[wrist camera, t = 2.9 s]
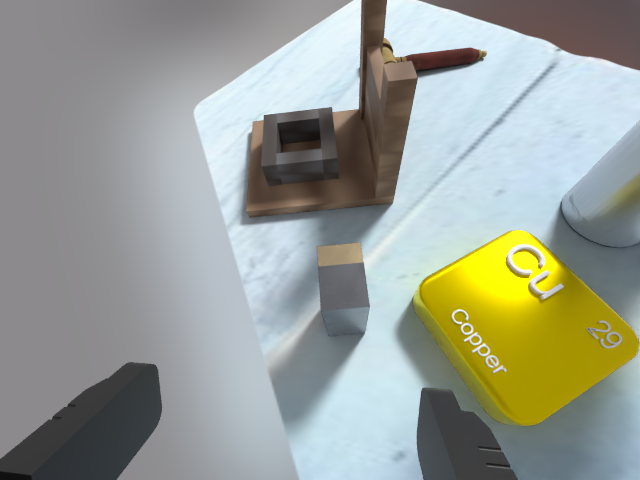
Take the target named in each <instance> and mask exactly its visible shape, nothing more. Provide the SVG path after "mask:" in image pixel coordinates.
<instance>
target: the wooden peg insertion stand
mask: <svg viewBox="0 0 640 480" xmlns="http://www.w3.org/2000/svg"><path fill="white" fill-rule="evenodd" d="M386 5H387V0H362V6H361V48H360V90H359V109H357V110H348V111H340V112H332V107H329V108H321V109H312V110H304V111H295V112H287V113H278V114H270V115H264V120H262V121H254V122H253V128H252V141H251V153H250V166H249V179H248V192H247V205H246V212H247V214H248V216H249V217H258V216H268V215H278V214H288V213H298V212H308V211H318V210H328V209H338V208H348V207H358V206H368V205H378V204H388V203H393V200H394V195H395V190H396V185H397V180H398V175H399V170H400V165H401V160H402V155H403V150H404V145H405V140H406V135H407V130H408V125H409V120H410V115H411V109H412V104H413V99H414V94H415V89H416V84H417V79H418V77H417V74H416V71H415V69H414V66H413V63H412V61H406V62H398V63H390V64H384V61H383V58H382V51H383V40H384V28H385V16H386Z"/></svg>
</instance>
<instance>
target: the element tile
mask: <svg viewBox="0 0 640 480" xmlns="http://www.w3.org/2000/svg"><path fill="white" fill-rule="evenodd" d="M413 306H414V309H415V311H416V313H417V315H418V316H419V318H420V319H421V320H422V322H423V323H424V325H425V326H426V327H427V329H428V330H429V332H430V333H431V335H432V336H433V337H434V339H435V340H436V342H437V343H438V345H439V346H440V347H441V349H442V350H443V352H444V353H445V355H446V356H447V357H448V359H449V360H450V362H451V363H452V364H453V366H454V367H455V369H456V370H457V372H458V373H459V374H460V376H461V377H462V379H463V380H464V382H465V383H466V384H467V386H468V387H469V389H470V390H471V391H472V393H473V394H474V396H475V397H476V399H477V400H478V401H479V403H480V404H481V406H482V407H483V409H484V410H485V411H486V412H487V413H488V414H489V415H490V416H491V417H492V418H493V419H495V420H496V421H497V422H500V423H503V424H508V425H518V426H532V425H536V424H538V423H541V422H542V421H543V420H545V419H546V418H548V417H549V416H551V415H552V414H553V413H555V412H556V411H558V410H559V409H561V408H562V407H564V406H565V405H566V404H568V403H569V402H571V401H572V400H574V399H575V398H576V397H578V396H579V395H581V394H582V393H584V392H585V391H587V390H588V389H589V388H591V387H592V386H594V385H595V384H597V383H598V382H599V381H601V380H602V379H604V378H605V377H607V376H608V375H610V374H611V373H612V372H614V371H615V370H617V369H618V368H620V367H621V366H622V365H624V364H625V363H627V362H628V361H630V360H631V359H633V358H634V357H635V356H636V355H637V353H638V350H639V347H640V345H639V339H638V337H637V335H636V334H635V332H634V330H633V329H632V328H631V327H630V326H629V324H627V323H626V322H625V321H624V320H623V319H622V318H621V317H620V316H619V315H618V314H617V313H616V312H615V311H614V310H613V309H612V308H610V307H609V306H608V305H607V304H606V303H605V302H604V301H603V300H602V299H601V298H600V297H599V296H598V295H597V294H596V293H595V292H593V291H592V290H591V289H590V288H589V287H588V286H587V285H586V284H585V283H584V282H583V281H582V280H581V279H580V278H579V277H578V276H576V275H575V274H574V273H573V272H572V271H571V270H570V269H569V268H568V267H567V266H566V265H565V264H564V263H563V262H562V261H561V260H559V259H558V258H557V257H556V256H555V255H554V254H553V253H552V252H551V251H550V250H549V249H548V248H547V247H546V246H545V245H544V244H542V243H541V242H540V241H539V240H538V239H537V238H536V237H534V236H533V235H532V234H530V233H528V232H526V231H521V230H514V231H509V232H507V233H505V234H503V235H501V236H499V237H498V238H496V239H494V240H492V241H490V242H489V243H487V244H485V245H483V246H481V247H480V248H478V249H476V250H474V251H472V252H471V253H469V254H467V255H465V256H464V257H462V258H460V259H458V260H456V261H455V262H453V263H451V264H449V265H447V266H446V267H444V268H442V269H440V270H438V271H437V272H435V273H433V274H431V275H429V276H428V277H426V278H425V279H424V280H423V281H422V282H421V284H420V285H419V287H418V289H417V291H416V293H415V295H414V297H413Z"/></svg>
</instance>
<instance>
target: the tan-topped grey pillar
mask: <svg viewBox="0 0 640 480" xmlns="http://www.w3.org/2000/svg"><path fill="white" fill-rule="evenodd" d="M317 252H318V269H319V285H320V302H321V312H322V316H323V319H324V322H325V325H326V328H327V332H328V335H329V336H338V335H351V334H363V333H365V331H366V325H367V320H368V314H369V308H370V305H369V298H368V291H367V284H366V276H365V269H364V262H363V255H362V248H361V243H351V244H340V245H329V246H319V247H317Z"/></svg>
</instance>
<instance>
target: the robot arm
mask: <svg viewBox="0 0 640 480" xmlns="http://www.w3.org/2000/svg"><path fill="white" fill-rule="evenodd" d="M562 212H563V214H564V217H565V219H566V220H567V222H568V223H569V225H570V226H571V227H572V228H573V229H574V230H575V231H577V232H578V233H579V234H581V235H582V236H583V237H585V238H587V239H589V240H591V241H593V242H596V243H598V244H601V245H605V246H610V247H629V246H632V245H635V244H637V243H639V242H640V120H639V121H638V122H637V123H636V124H635V125H634V126H633V127H632V128H631V129H630V130H629V131H628V132H627V133H626V134H625V135H624V136H623V137H622V138H621V139H620V140H619V141H618V142H617V143H616V144H615V145H614V146H613V147H612V148H611V149H610V150H609V151H608V152H607V153H606V154H605V155H604V156H603V157H602V158H601V159H600V160H599V161H598V162H597V163H596V164H595V165H594V166H593V167H592V168H591V169H590V170H589V171H588V172H587V173H586V174H585V175H584V176H583V178H582V179H581V180H580V181H579V182H578V183H577V184H576V185H575V186H574V187H573V188H572V189H571V190H570V191H569V192H568V193H567V194H566V195H565V196H564V198H563V200H562ZM158 376H159V375H158V369H157V367H156V365H154V364H145V363H133V362H129V363H127V364H125V365H124V366H122V367H121V368H120V369H119V370H118V371H116V372H115V373H114V374H113V375H112V376H110V377H109V378H108V379H105V380H103V381H101V382H99V383H97V384H96V385H94V386H92V387H90V388H88V389H86V390H85V391H83V392H82V393H81V394H80V395H79V396H77V397H76V398H75V399H74V400H72V401H71V402H70V403H69V404H68V406H67V407H64V408H63V409H62V410H60V411H59V412H58V413H56V414H55V415H54V416H53V418H52V420H48V421H47V422H45V423H44V424H43V425H42V426H40V427H39V428H38V429H37V430H36V431H34V432H33V433H32V434H31V435H29V436H28V437H27V438H26V439H24V440H23V441H22V442H21V443H20V444H19V445H17V446H16V447H15V448H13V449H12V450H11V451H10V452H9V453H7V454H6V455H5V456H4V457H2V458H1V459H0V480H117V478H118V477H119V476H120V474H121V473H122V472H123V470H124V469H125V468H126V466H127V465H128V464H129V463H130V461H131V460H132V459H133V457H134V456H135V455H136V454H137V452H138V451H139V450H140V448H141V447H142V446H143V444H144V443H145V442H146V440H147V439H148V438H149V437H150V435H151V434H152V433H153V431H154V429H155V428H156V427H157V425H158V422H159V420H160V417H161V412H162V403H161V394H160V385H159V377H158ZM417 450H418V457H419V462H420V466H421V470H422V475H423V479H424V480H518V479H517V477H516V476H515V474H514V472H513V470H511V469H510V464H509V463H508V461H507V459H506V457H505V455H504V453H503V452H501V448H500V446H499V444H498V442H497V441H496V439H495V437H494V435H493V433H492V431H491V430H490V428H489V427H488V426H487V425H486V424H485V423H484V422H483V421H482V420H481V419H480V418H479V417H478V416H477V415H476V414H475V413H474V412H465V411H461V409H460V407H459V405H458V402H457V400H456V398H455V396H454V394H453V392H452V391H451V390H447V389H435V388H422V391H421V398H420V407H419V417H418V427H417Z"/></svg>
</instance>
